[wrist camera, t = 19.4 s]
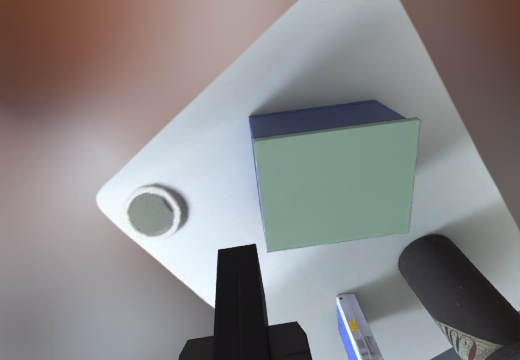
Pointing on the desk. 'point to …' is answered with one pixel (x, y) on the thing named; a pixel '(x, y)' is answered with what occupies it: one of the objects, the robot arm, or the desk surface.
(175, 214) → the desk surface
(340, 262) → the desk surface
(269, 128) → the case
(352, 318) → the walkman
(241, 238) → the desk surface
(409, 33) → the desk surface
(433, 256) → the container
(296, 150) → the case lid
